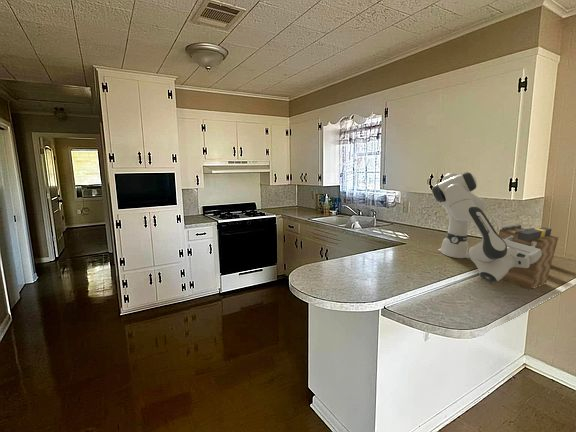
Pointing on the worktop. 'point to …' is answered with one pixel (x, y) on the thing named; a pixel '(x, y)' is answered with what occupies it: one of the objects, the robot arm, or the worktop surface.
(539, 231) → the dark long bar piece
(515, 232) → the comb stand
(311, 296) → the worktop surface
